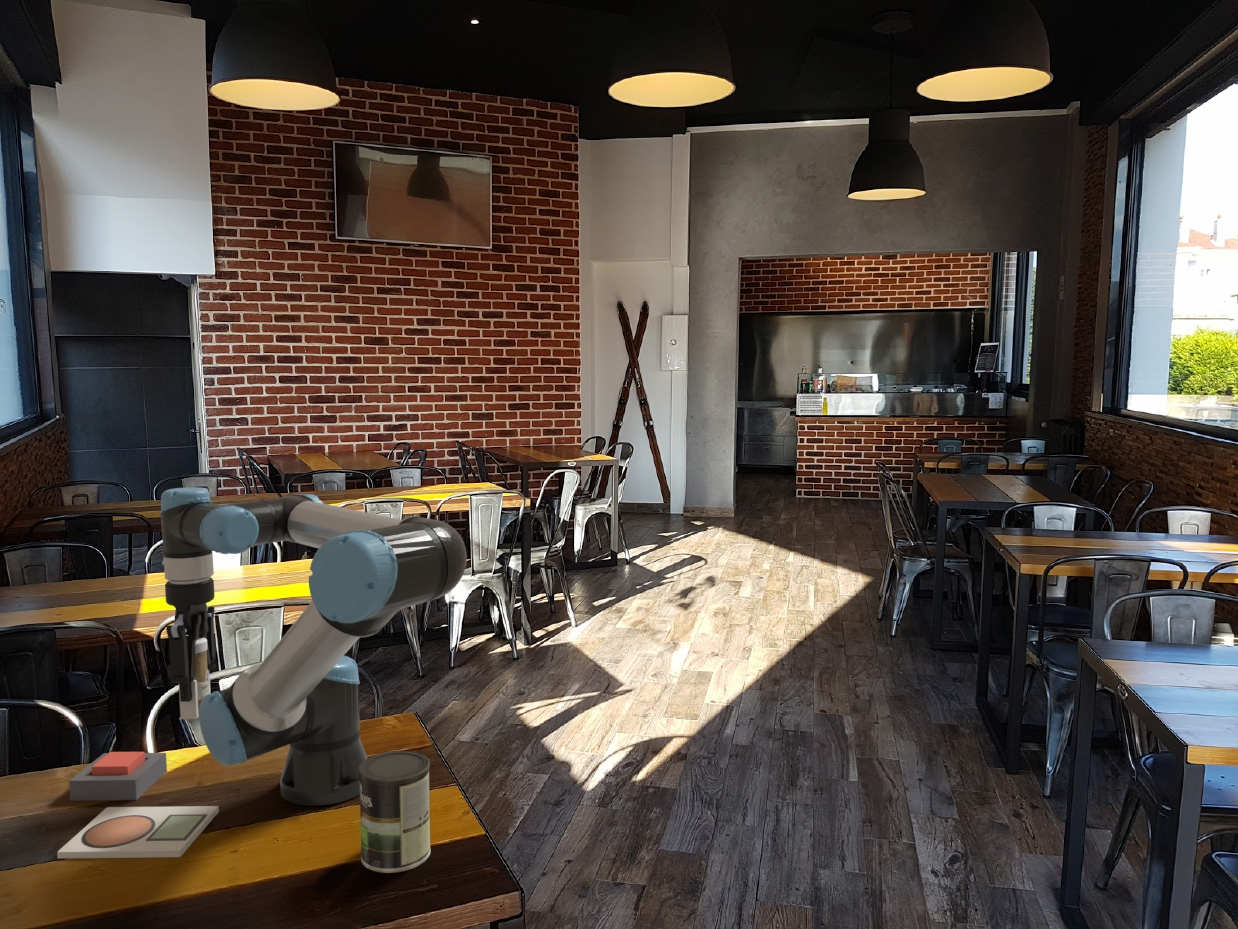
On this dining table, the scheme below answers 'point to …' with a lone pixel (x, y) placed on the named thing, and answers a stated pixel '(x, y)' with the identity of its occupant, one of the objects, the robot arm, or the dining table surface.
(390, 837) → the coffee can
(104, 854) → the picture board
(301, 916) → the dining table surface
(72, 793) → the button housing
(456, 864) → the dining table surface
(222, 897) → the dining table surface
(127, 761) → the button
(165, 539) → the robot arm
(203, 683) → the spice jar
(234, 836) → the dining table surface
